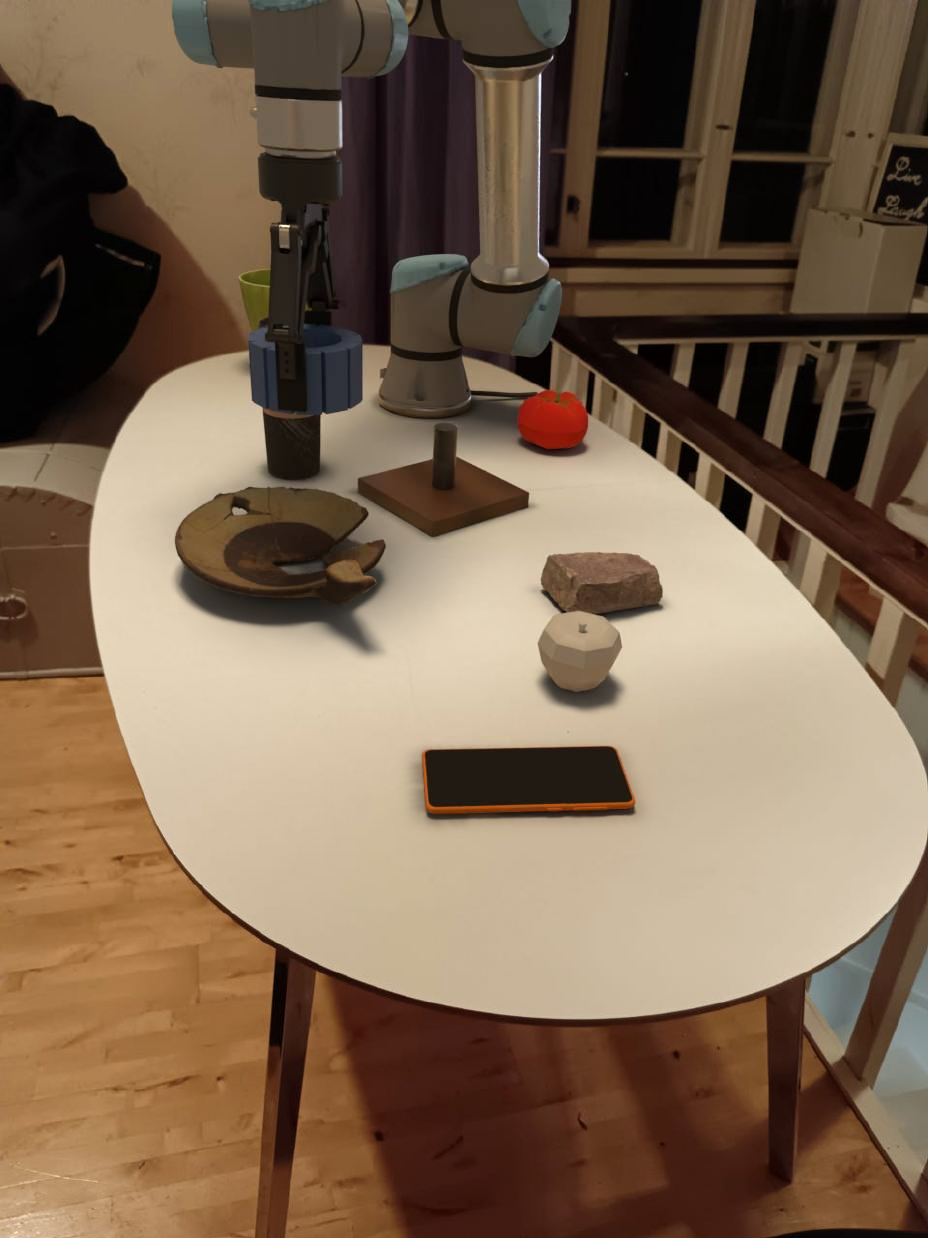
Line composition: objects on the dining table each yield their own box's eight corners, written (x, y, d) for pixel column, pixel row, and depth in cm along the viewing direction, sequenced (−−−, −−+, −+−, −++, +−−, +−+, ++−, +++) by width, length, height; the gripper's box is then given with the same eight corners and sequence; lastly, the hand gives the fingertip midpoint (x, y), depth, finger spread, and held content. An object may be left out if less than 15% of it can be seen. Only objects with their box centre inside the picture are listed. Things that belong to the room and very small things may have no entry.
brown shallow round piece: (361, 517, 120) (361, 459, 116) (416, 643, 95) (418, 576, 91) (176, 530, 114) (169, 470, 110) (184, 668, 89) (175, 597, 85)
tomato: (550, 462, 139) (555, 412, 135) (501, 438, 146) (505, 391, 142) (601, 448, 145) (608, 400, 141) (552, 426, 152) (557, 380, 148)
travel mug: (327, 461, 135) (324, 317, 124) (314, 482, 128) (310, 332, 118) (274, 457, 135) (266, 312, 125) (259, 477, 129) (249, 327, 118)
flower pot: (227, 368, 169) (220, 274, 161) (291, 353, 179) (287, 264, 171) (283, 388, 161) (278, 291, 153) (347, 371, 171) (346, 279, 163)
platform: (451, 467, 135) (454, 398, 130) (528, 506, 125) (535, 433, 120) (357, 492, 126) (357, 419, 121) (432, 536, 116) (435, 459, 111)
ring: (323, 375, 104) (322, 318, 101) (383, 403, 97) (383, 343, 94) (232, 390, 97) (227, 331, 94) (288, 422, 90) (286, 359, 87)
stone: (625, 570, 111) (631, 533, 109) (667, 609, 104) (675, 571, 102) (534, 583, 107) (538, 546, 104) (571, 625, 100) (577, 586, 97)
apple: (570, 649, 96) (577, 592, 93) (633, 683, 91) (643, 625, 88) (516, 678, 91) (522, 619, 88) (580, 716, 86) (588, 655, 83)
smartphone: (421, 755, 80) (421, 747, 80) (614, 752, 82) (616, 744, 82) (426, 817, 74) (426, 809, 73) (636, 812, 76) (638, 804, 75)
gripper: (290, 139, 96) (297, 356, 107) (218, 161, 76) (236, 426, 87) (364, 144, 96) (364, 361, 107) (312, 167, 75) (318, 433, 86)
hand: (306, 391), depth 97 cm, fingers closed on ring, 11 cm apart
